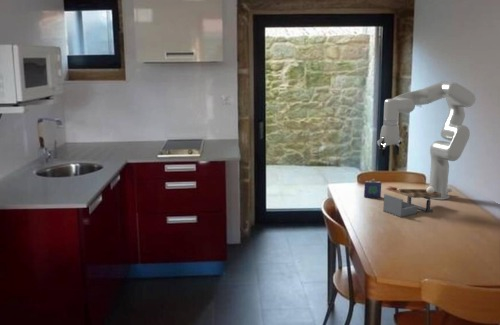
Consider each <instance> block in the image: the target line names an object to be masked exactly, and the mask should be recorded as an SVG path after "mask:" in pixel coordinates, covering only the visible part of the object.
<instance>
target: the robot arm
mask: <svg viewBox="0 0 500 325" xmlns="http://www.w3.org/2000/svg"><path fill="white" fill-rule="evenodd" d="M444 98H445V100H446V104H447V106H448V109H449V110H448V115H447V117H446V120H445V122H444V124H443V126H442V127H441V130H440V136H441V138H442V139H444V140H447V141H444V140H435V141H434V142H432V144H431V145H430V148H429V154H430V172H429V173H430V174H429V182H428V183H429V185H428V187H430V186H431V187H433V188H434V191H435V192H438V193H441V198H431V200H438V201H440V200H442V201H443V200H449V199H450V197H451V196H450V195H449V193H451V192H452V191H453V189H452V188H448V185H449V172H450V164H449V161H450V162H455V161H458V160H459V158H461V156H462V153H463V152H464V150H465V148H466V145H467V143H468V142H469V140H470V128H469V127H468V126H466V125H464V124H463V123H464V120H465V117H466V113H465V109H464V108H470V107H472V106H474V104H475V103H476V95H475V93H474V92H472V91H471V90H470V89H468V88H467V87H465V86H462V85H461V84H459V82H458V83H457V82H454V81H440V82H437V83H434V84H431V85H430V86H427V87H424V88H420V89H416V90H413V91H408V92H405V93H402V94H399V95H396V96H394V97H393V98H386V99H385V100H384V103H383V104H384V105H383V123H382V124H383V125H382V126H381V129H380V134H379V135H380V136H379V139H378V140H377V142H376V143H377V146H378V148H379V156H380V157H382V158H384V157H386V147H387V146H392V145H394V146H393V153H392V154H393V155H397V156H398V155H399V154H400V148H401V145H402V142H403V137H402V136H400V125H399V122H400V120H399V118H400V117H399V116H400V113H403V114H409V113H412V112H413V111H414V110H415V109H416V106H423V105H429V104H432V103H434V102H436V101H439V100H442V99H444ZM448 141H450V142H448Z"/></svg>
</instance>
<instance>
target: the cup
mask: <svg viewBox="0 0 500 325" xmlns="http://www.w3.org/2000/svg"><path fill="white" fill-rule="evenodd" d="M412 204H413V203H411V204H409V203H407V201H406V202H405V201H404V199H403V198H400V197H396V196H392V195H391V194H390V195H389V194H387V193H384V194H383V208H382V209H383V210H382V211H383V212H384V213H386V212H387V213H388V214H389V213H390V214H389V215H392V214H393V216H395V215H396V217H397V218H398V217H399V218H404V217H409V216H414V215H417V214H418V210H417V207H418V206H419V205H418V206H416V205H417V204H414V205H412Z"/></svg>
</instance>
